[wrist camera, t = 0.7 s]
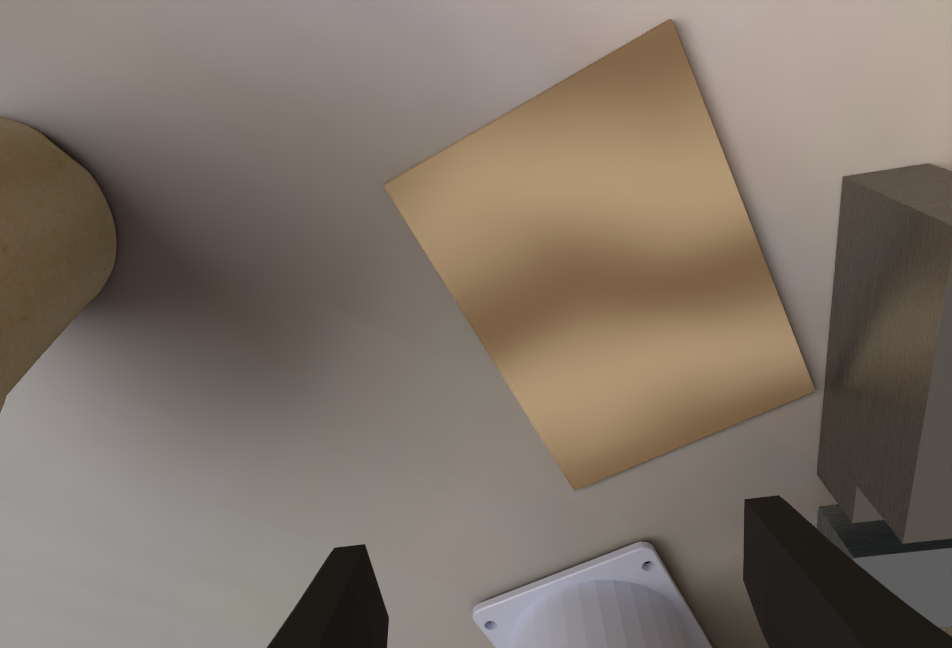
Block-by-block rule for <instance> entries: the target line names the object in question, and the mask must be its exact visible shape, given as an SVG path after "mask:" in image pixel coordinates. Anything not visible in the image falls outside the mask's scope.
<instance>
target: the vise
mask: <svg viewBox="0 0 952 648" xmlns="http://www.w3.org/2000/svg"><path fill="white" fill-rule="evenodd" d="M817 529H818V530H819V531H820V532H821V533H822V534H823V535H824V536H825V537H827V538H828V539H829V540H830V541H831V542H832V543H834V544H835V545H836V546H837V547H838V548H839V549H840V550H842V551H843V552H844V553H845V554H846V555H847V556H849V557H850V558H851V559H852V560H853V561H854V562H856V563H857V564H858V565H859V566H861V567H862V568H863V569H864V570H865V571H867V572H868V573H869V574H870V575H872V576H873V577H874V578H875V579H876V580H878V581H879V582H880V583H881V584H883V585H884V586H885V587H886V588H887V589H889V590H890V591H891V592H892V593H894V594H895V595H896V596H898V597H899V598H900V599H901V600H903V601H904V602H905V603H907V604H908V605H909V606H910V607H912V608H913V609H914V610H916V611H917V612H918V613H920V614H921V615H922V616H924V617H925V618H926V619H928V620H929V621H930V622H932V623H933V624H934V625H936V626H937V627H938V628H943V627H952V539H942V540H933V541H923V542H914V543H905V544H903V543H902V542H901V541H900V540H899V538H898V537H897V536H896V534H895V533H894V532H893V531H892V529H891V528H890V527H889V526H888V524H887V523H886V522H885V521H884V520H877V521H868V522H858V523H852V522H851V521H850V519H849V518H848V517H847V515H846V514H845V512H844V511H843V510H842V508H841V507H840V506H839V505H837V506H828V507H819V516H818V527H817Z"/></svg>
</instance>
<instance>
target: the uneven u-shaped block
mask: <svg viewBox="0 0 952 648" xmlns="http://www.w3.org/2000/svg"><path fill="white" fill-rule="evenodd" d="M817 475H818V477H819V478H820V479H821V481H822V482H823V483H824V485H825V486H826V488H827V489H828V490H829V492H830V493H831V495H832V496H833V497H834V499H835V500H836V501H837V503H838V504H839V506H840V507H841V508H842V510H843V511H844V512H845V514H846V515H847V517H848V518H849V519H850V521H851V522H852V523H858V522H868V521H877V520H884V521H885V522H886V523H887V524H888V526H889V527H890V528H891V529H892V531H893V532H894V533H895V534H896V536H897V537H898V538H899V540H900V541H901V542H902V543H903V544H905V543H914V542H923V541H933V540H942V539H952V171H949V170H946V169H943V168H940V167H937V166H934V165H931V164H922V165H916V166H909V167H903V168H896V169H890V170H883V171H877V172H870V173H864V174H857V175H851V176H844V177H843V182H842V193H841V205H840V216H839V228H838V239H837V251H836V262H835V274H834V285H833V296H832V308H831V319H830V331H829V342H828V354H827V365H826V377H825V388H824V400H823V411H822V422H821V434H820V445H819V457H818V468H817Z"/></svg>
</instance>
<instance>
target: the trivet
mask: <svg viewBox="0 0 952 648" xmlns="http://www.w3.org/2000/svg"><path fill="white" fill-rule="evenodd" d="M384 187H385V189H386V191H387V192H388V194H389V195H390V197H391V199H392V200H393V202H394V203H395V205H396V207H397V208H398V210H399V211H400V213H401V215H402V216H403V218H404V219H405V221H406V223H407V224H408V226H409V227H410V229H411V231H412V232H413V234H414V235H415V237H416V239H417V240H418V242H419V243H420V245H421V247H422V248H423V250H424V251H425V253H426V255H427V256H428V258H429V259H430V261H431V263H432V264H433V266H434V267H435V269H436V271H437V272H438V274H439V275H440V277H441V279H442V280H443V282H444V283H445V285H446V287H447V288H448V290H449V291H450V293H451V295H452V296H453V298H454V299H455V301H456V303H457V304H458V306H459V307H460V309H461V311H462V312H463V314H464V315H465V317H466V319H467V320H468V322H469V323H470V325H471V327H472V328H473V330H474V331H475V333H476V335H477V336H478V338H479V339H480V341H481V343H482V344H483V346H484V347H485V349H486V351H487V352H488V354H489V355H490V357H491V359H492V360H493V362H494V363H495V365H496V367H497V368H498V370H499V371H500V373H501V375H502V376H503V378H504V379H505V381H506V383H507V384H508V386H509V387H510V389H511V391H512V392H513V394H514V395H515V397H516V399H517V400H518V402H519V403H520V405H521V407H522V408H523V410H524V411H525V413H526V415H527V416H528V418H529V419H530V421H531V423H532V424H533V426H534V427H535V429H536V431H537V432H538V434H539V435H540V437H541V439H542V440H543V442H544V443H545V445H546V446H547V448H548V450H549V451H550V453H551V454H552V456H553V458H554V459H555V461H556V462H557V464H558V466H559V467H560V469H561V470H562V472H563V474H564V475H565V477H566V478H567V480H568V482H569V483H570V485H571V486H572V488H573V490H574V491H576V490H578V489H581V488H583V487H585V486H588V485H590V484H593V483H595V482H597V481H600V480H602V479H605V478H607V477H609V476H612V475H614V474H617V473H619V472H621V471H624V470H626V469H629V468H631V467H634V466H636V465H638V464H641V463H643V462H646V461H648V460H650V459H653V458H655V457H658V456H660V455H662V454H665V453H667V452H670V451H672V450H675V449H677V448H679V447H682V446H684V445H687V444H689V443H691V442H694V441H696V440H699V439H701V438H703V437H706V436H708V435H711V434H713V433H716V432H718V431H720V430H723V429H725V428H728V427H730V426H732V425H735V424H737V423H740V422H742V421H744V420H747V419H749V418H752V417H754V416H756V415H759V414H761V413H764V412H766V411H769V410H771V409H773V408H776V407H778V406H781V405H783V404H785V403H788V402H790V401H793V400H795V399H797V398H800V397H802V396H805V395H807V394H810V393H812V392H814V391H815V389H814V386H813V383H812V381H811V378H810V376H809V373H808V370H807V368H806V365H805V363H804V360H803V357H802V355H801V352H800V350H799V347H798V344H797V342H796V339H795V337H794V334H793V332H792V329H791V326H790V324H789V321H788V319H787V316H786V313H785V311H784V308H783V306H782V303H781V300H780V298H779V295H778V293H777V290H776V287H775V285H774V282H773V280H772V277H771V275H770V272H769V269H768V267H767V264H766V262H765V259H764V256H763V254H762V251H761V249H760V246H759V243H758V241H757V238H756V236H755V233H754V231H753V228H752V225H751V223H750V220H749V218H748V215H747V212H746V210H745V207H744V205H743V202H742V199H741V197H740V194H739V192H738V189H737V186H736V184H735V181H734V179H733V176H732V174H731V171H730V168H729V166H728V163H727V161H726V158H725V155H724V153H723V150H722V148H721V145H720V142H719V140H718V137H717V135H716V132H715V129H714V127H713V124H712V122H711V119H710V117H709V114H708V111H707V109H706V106H705V104H704V101H703V98H702V96H701V93H700V91H699V88H698V85H697V83H696V80H695V78H694V75H693V73H692V70H691V67H690V65H689V62H688V60H687V57H686V54H685V52H684V49H683V47H682V44H681V41H680V39H679V36H678V34H677V31H676V28H675V26H674V23H673V21H672V19H669V20H667V21H665V22H664V23H662V24H660V25H658V26H657V27H655V28H653V29H651V30H650V31H648V32H646V33H645V34H643V35H641V36H639V37H638V38H636V39H634V40H632V41H631V42H629V43H627V44H625V45H624V46H622V47H620V48H619V49H617V50H615V51H613V52H612V53H610V54H608V55H606V56H605V57H603V58H601V59H599V60H598V61H596V62H594V63H593V64H591V65H589V66H587V67H586V68H584V69H582V70H580V71H579V72H577V73H575V74H573V75H572V76H570V77H568V78H567V79H565V80H563V81H561V82H560V83H558V84H556V85H554V86H553V87H551V88H549V89H548V90H546V91H544V92H542V93H541V94H539V95H537V96H535V97H534V98H532V99H530V100H528V101H527V102H525V103H523V104H522V105H520V106H518V107H516V108H515V109H513V110H511V111H509V112H508V113H506V114H504V115H502V116H501V117H499V118H497V119H496V120H494V121H492V122H490V123H489V124H487V125H485V126H483V127H482V128H480V129H478V130H476V131H475V132H473V133H471V134H470V135H468V136H466V137H464V138H463V139H461V140H459V141H457V142H456V143H454V144H452V145H450V146H449V147H447V148H445V149H444V150H442V151H440V152H438V153H437V154H435V155H433V156H431V157H430V158H428V159H426V160H425V161H423V162H421V163H419V164H418V165H416V166H414V167H412V168H411V169H409V170H407V171H405V172H404V173H402V174H400V175H399V176H397V177H395V178H393V179H392V180H390V181H388V182H386V183H385V184H384Z"/></svg>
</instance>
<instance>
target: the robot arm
mask: <svg viewBox="0 0 952 648" xmlns="http://www.w3.org/2000/svg"><path fill="white" fill-rule="evenodd" d="M648 561H651V562H649V563H645V562H648ZM743 580H744V583H745V586H746V589H747V592H748V594H749V597H750V600H751V603H752V606H753V609H754V611H755V614H756V617H757V619H758V622H759V625H760V627H761V630H762V632H763V635H764V637H765V639H766V641H767V643H768V645H769V648H952V637H951V636H950V635H948V634H947V633H945V632H944V631H943V630H941V629H940V628H938V627H937V626H936V625H934V624H933V623H932V622H930V621H929V620H928V619H926V618H925V617H924V616H922V615H921V614H920V613H918V612H917V611H916V610H914V609H913V608H912V607H910V606H909V605H908V604H907V603H905V602H904V601H903V600H901V599H900V598H899V597H898V596H896V595H895V594H894V593H892V592H891V591H890V590H889V589H887V588H886V587H885V586H884V585H883V584H881V583H880V582H879V581H878V580H876V579H875V578H874V577H873V576H872V575H870V574H869V573H868V572H867V571H865V570H864V569H863V568H862V567H861V566H859V565H858V564H857V563H856V562H854V561H853V560H852V559H851V558H850V557H849V556H847V555H846V554H845V553H844V552H843V551H842V550H840V549H839V548H838V547H837V546H836V545H835V544H834V543H832V542H831V541H830V540H829V539H828V538H827V537H825V536H824V535H823V534H822V533H821V532H820V531H819V530H818V529H816V528H815V527H814V526H813V525H812V524H811V523H810V522H809V521H807V520H806V519H805V518H804V517H803V516H802V515H801V514H800V513H799V512H797V511H796V510H795V509H794V508H793V507H792V506H791V505H790V504H789V503H787V502H786V501H785V500H784V499H783V498H781V497H780V496H779V495H778V496H770V497H761V498H753V499H745V506H744V566H743ZM473 619H474V621H475V623H476V624H477V625H478V626H479V628H480V629H481V630H482V631H483V633H484V634H485V635H486V636H487V638H488V639H489V640H490V641H491V643H492V644H493V645H494V646H495V648H713V647H712V646H711V644H710V642H709V641H708V639H707V637H706V635H705V634H704V632H703V630H702V629H701V627H700V625H699V623H698V622H697V620H696V618H695V617H694V615H693V613H692V612H691V610H690V608H689V606H688V605H687V603H686V601H685V600H684V598H683V596H682V594H681V593H680V591H679V589H678V588H677V586H676V584H675V582H674V581H673V579H672V577H671V576H670V574H669V572H668V571H667V569H666V567H665V565H664V564H663V562H662V560H661V559H660V557H659V555H658V553H657V552H656V550H655V548H654V547H653V546H652V545H651V544H650V543H648V542H637V543H634V544H632V545H629V546H626V547H624V548H621V549H619V550H616V551H613V552H611V553H608V554H606V555H603V556H601V557H598V558H595V559H593V560H590V561H588V562H585V563H582V564H580V565H577V566H575V567H572V568H569V569H567V570H564V571H562V572H559V573H556V574H554V575H551V576H549V577H546V578H543V579H541V580H538V581H536V582H533V583H530V584H528V585H525V586H523V587H520V588H517V589H515V590H512V591H510V592H507V593H505V594H502V595H499V596H497V597H494V598H492V599H489V600H486V601H484V602H481V603H479V604H477V605H475V607H474V608H473ZM489 621H492V622H489ZM388 623H389V617H388V614H387V611H386V608H385V605H384V602H383V599H382V595H381V592H380V589H379V586H378V583H377V580H376V577H375V574H374V571H373V568H372V565H371V562H370V559H369V555H368V552H367V549H366V546H365V544H363V545H355V546H346V547H338V548H334V549H333V551H332V552H331V553H330V555H329V556H328V558H327V559H326V561H325V562H324V564H323V565H322V567H321V568H320V570H319V571H318V573H317V574H316V576H315V578H314V579H313V581H312V582H311V584H310V585H309V587H308V588H307V590H306V591H305V593H304V594H303V596H302V597H301V599H300V600H299V602H298V603H297V605H296V606H295V608H294V609H293V611H292V612H291V614H290V615H289V617H288V618H287V620H286V621H285V622H284V624H283V625H282V627H281V628H280V630H279V631H278V632H277V634H276V635H275V637H274V638H273V640H272V641H271V643H270V644H269V645H268V647H267V648H387V638H388Z"/></svg>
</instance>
